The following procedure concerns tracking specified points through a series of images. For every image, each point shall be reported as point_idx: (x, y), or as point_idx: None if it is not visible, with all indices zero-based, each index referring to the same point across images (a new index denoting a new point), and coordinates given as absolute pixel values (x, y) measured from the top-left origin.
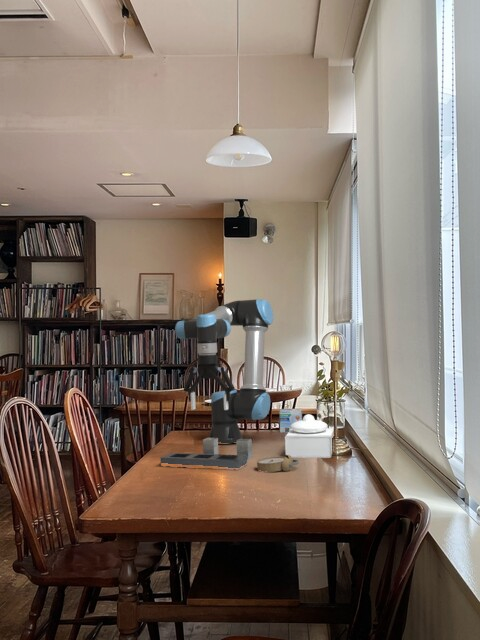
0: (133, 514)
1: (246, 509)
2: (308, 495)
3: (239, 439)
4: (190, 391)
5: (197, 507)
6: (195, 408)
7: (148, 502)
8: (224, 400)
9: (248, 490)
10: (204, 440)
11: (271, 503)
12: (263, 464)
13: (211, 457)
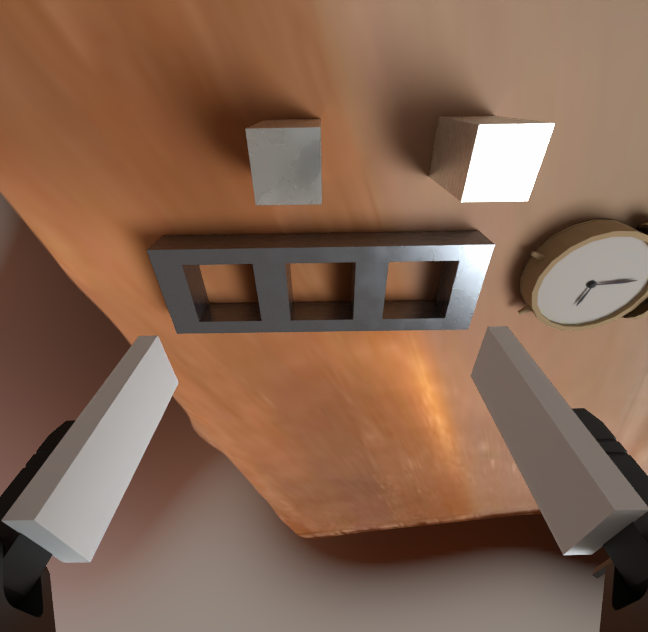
0: (350, 524)
1: (500, 496)
2: None
3: (475, 160)
4: (44, 588)
5: (426, 500)
6: (158, 343)
7: (343, 498)
8: (519, 454)
9: (499, 438)
10: (265, 203)
11: None
12: (553, 325)
13: (359, 302)
